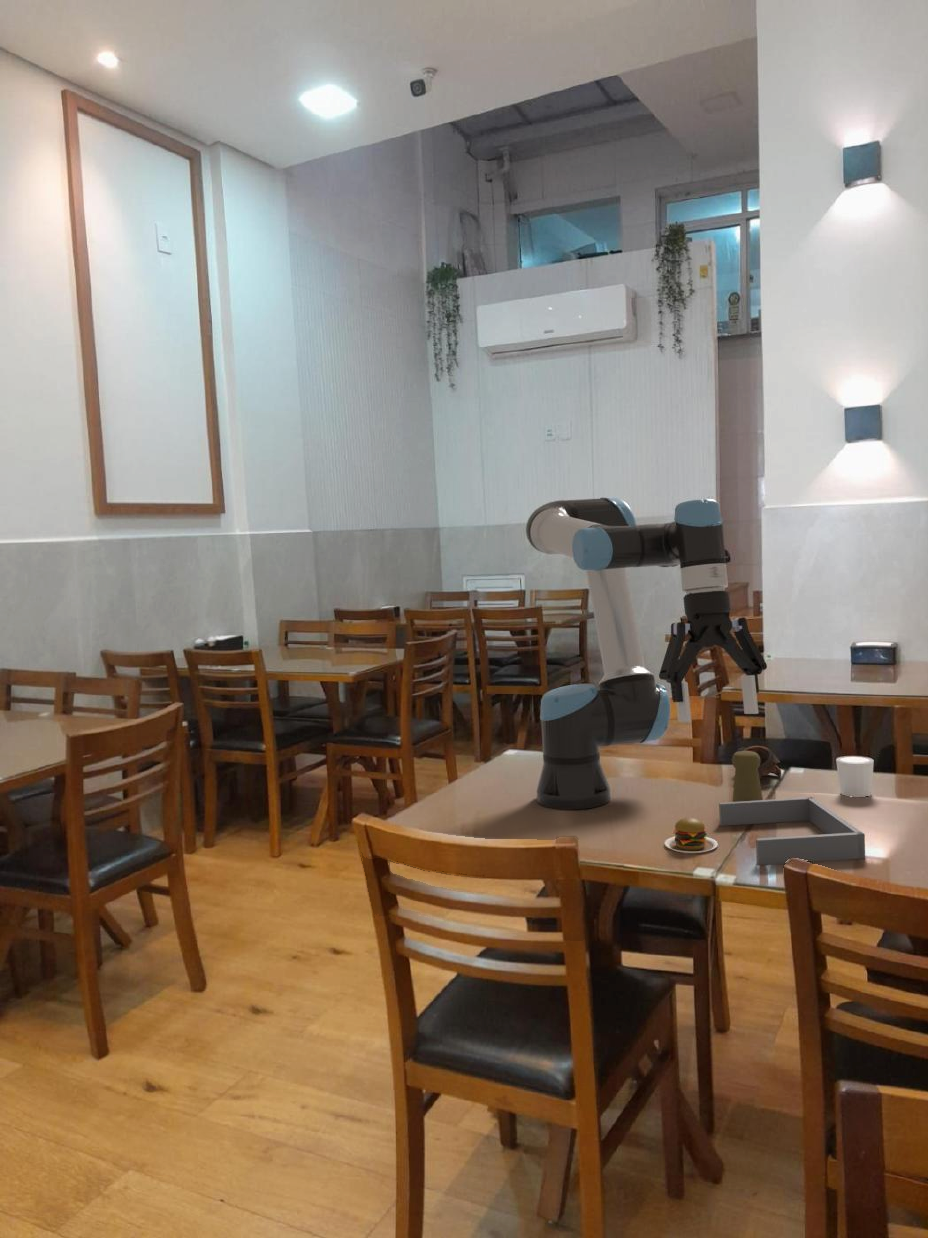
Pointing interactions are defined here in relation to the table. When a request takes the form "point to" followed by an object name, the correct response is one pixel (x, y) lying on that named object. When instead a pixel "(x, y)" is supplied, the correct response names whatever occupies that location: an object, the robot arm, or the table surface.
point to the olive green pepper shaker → (746, 777)
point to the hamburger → (690, 836)
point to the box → (831, 846)
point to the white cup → (855, 775)
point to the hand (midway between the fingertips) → (718, 718)
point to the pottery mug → (765, 760)
